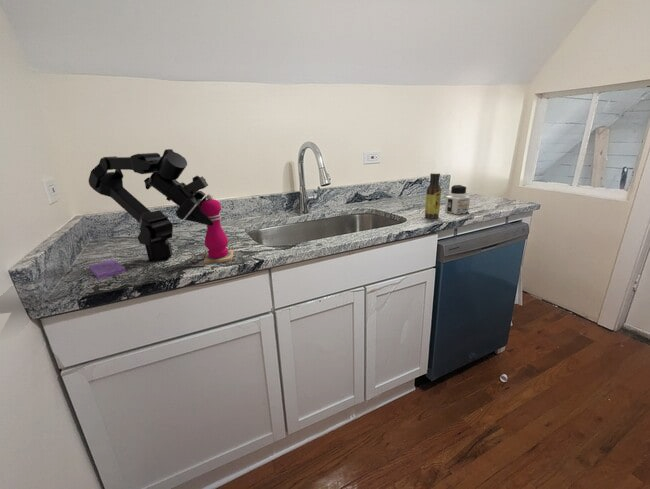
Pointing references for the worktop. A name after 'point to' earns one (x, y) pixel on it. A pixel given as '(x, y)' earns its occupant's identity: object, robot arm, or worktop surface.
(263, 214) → the worktop surface
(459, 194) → the container
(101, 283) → the worktop surface
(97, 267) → the sponges
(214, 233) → the pepper mill
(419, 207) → the worktop surface
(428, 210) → the sauce bottle
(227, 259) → the dock
